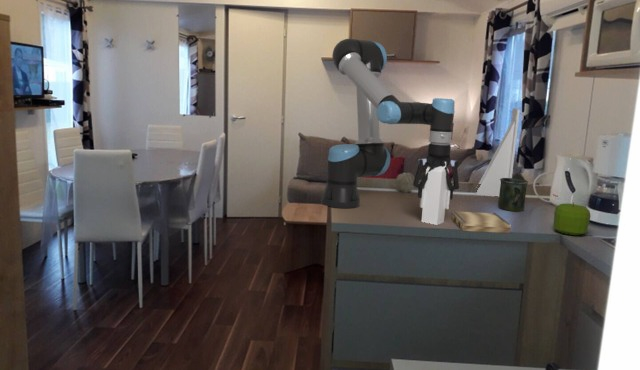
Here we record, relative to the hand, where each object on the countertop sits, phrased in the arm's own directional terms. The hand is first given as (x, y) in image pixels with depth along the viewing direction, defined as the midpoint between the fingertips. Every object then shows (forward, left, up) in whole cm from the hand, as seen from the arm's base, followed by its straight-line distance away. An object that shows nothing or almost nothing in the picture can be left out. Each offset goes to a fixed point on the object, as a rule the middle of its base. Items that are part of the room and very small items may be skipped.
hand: (433, 207), depth 187 cm
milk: (0, 0, -5) cm, 5 cm away
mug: (+38, +28, -6) cm, 48 cm away
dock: (+16, -2, -5) cm, 17 cm away
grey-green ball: (-2, +56, -6) cm, 56 cm away
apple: (+46, -6, -6) cm, 47 cm away
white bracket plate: (+40, +61, -6) cm, 73 cm away
